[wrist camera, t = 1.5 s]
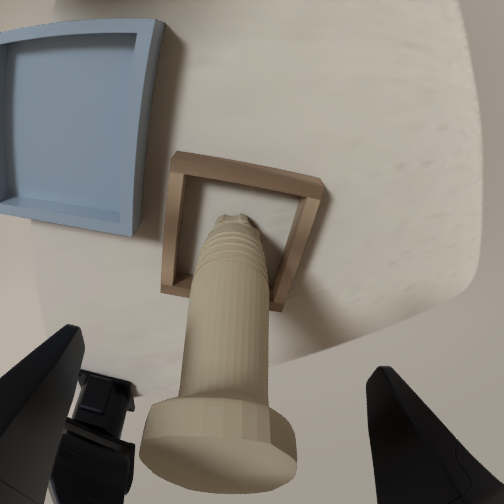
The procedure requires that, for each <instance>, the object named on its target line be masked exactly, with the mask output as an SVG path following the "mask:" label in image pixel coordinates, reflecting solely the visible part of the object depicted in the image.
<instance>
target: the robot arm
mask: <svg viewBox="0 0 504 504" xmlns="http://www.w3.org/2000/svg"><path fill="white" fill-rule="evenodd" d="M84 351H85V344H84V340H83V336H82V332H81V329H80V327H78V326H74V325H70V324H67V325H65V326H64V327H62V328H61V329H60V330H59V331H57V332H56V333H55V334H54V335H52V336H51V337H50V338H49V339H47V340H46V341H45V342H43V343H42V344H41V345H40V346H39V347H37V348H36V349H35V350H34V351H32V352H31V353H30V354H29V355H28V356H26V357H25V358H24V359H23V360H21V361H20V362H19V363H18V364H17V365H15V366H14V367H13V368H12V369H10V370H9V371H8V372H7V373H6V374H4V375H3V376H2V377H1V378H0V504H44V501H45V496H46V492H47V488H48V489H49V492H50V495H51V498H52V500H53V503H54V504H123V503H124V495H126V494H127V493H128V492H129V490H130V487H131V484H132V480H133V473H134V472H133V471H134V456H135V444H133V443H128V442H125V441H122V440H120V438H121V433H122V429H123V424H124V420H125V416H126V412H127V411H132V412H134V409H135V405H134V399H133V393H132V387H131V384H130V383H129V382H126V381H122V380H118V379H114V378H109V377H105V376H102V375H98V374H94V373H90V372H87V371H83V370H80V368H81V364H82V360H83V356H84ZM77 381H79V384H80V386H81V391H80V394H79V397H78V400H77V403H76V406H75V409H74V412H73V415H72V418H69V417H67V416H68V413H69V410H70V407H71V404H72V401H73V397H74V394H75V390H76V385H77ZM366 395H367V396H366V397H367V416H368V431H369V438H370V445H371V452H372V460H373V467H374V475H375V485H376V494H377V504H504V484H503V483H501V482H500V481H499V480H498V479H497V478H496V477H494V476H493V475H492V474H491V473H490V472H489V471H488V470H487V469H486V468H485V467H484V466H483V465H482V464H480V463H479V462H478V461H477V460H476V459H475V458H474V457H473V456H472V455H471V454H470V453H469V452H468V450H466V448H465V447H464V446H463V445H462V444H461V443H460V442H459V441H458V439H456V438H455V436H454V435H453V434H452V433H451V432H450V431H449V430H448V428H447V427H446V426H445V425H444V424H443V423H442V422H441V421H440V420H439V418H438V417H437V416H436V415H435V414H434V413H433V412H432V411H431V410H430V409H429V407H427V405H426V404H425V403H424V402H423V401H422V400H421V399H420V398H419V397H418V395H417V394H416V393H415V392H414V391H413V390H412V389H411V388H410V387H409V386H408V385H407V384H406V382H405V381H404V380H403V379H402V378H401V377H400V376H399V375H398V374H397V373H396V372H395V371H394V370H393V368H392V367H390V366H379V367H377V369H376V370H375V371H374V372H373V374H372V375H371V377H370V378H369V379H368V381H367V383H366ZM62 433H63V434H62Z"/></svg>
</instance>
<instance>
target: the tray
mask: <svg viewBox="0 0 504 504" xmlns="http://www.w3.org/2000/svg"><path fill="white" fill-rule="evenodd" d="M164 27H165V23H164V22H162V21H159V20H157V19H144V18H115V19H91V20H78V21H67V22H58V23H50V24H43V25H37V26H30V27H25V28H20V29H14V30H9V31H5V32H0V214H6V215H12V216H17V217H22V218H28V219H33V220H39V221H45V222H50V223H56V224H61V225H67V226H73V227H78V228H84V229H90V230H95V231H101V232H107V233H112V234H118V235H124V236H130V237H132V236H133V234H134V233H135V231H136V229H137V228H138V226H139V224H140V222H141V212H142V194H143V179H144V166H145V154H146V144H147V134H148V126H149V117H150V109H151V102H152V95H153V88H154V81H155V75H156V69H157V63H158V57H159V52H160V47H161V41H162V36H163V31H164Z"/></svg>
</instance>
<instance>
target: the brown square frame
mask: <svg viewBox="0 0 504 504" xmlns="http://www.w3.org/2000/svg"><path fill="white" fill-rule="evenodd" d="M187 175H193V176H199V177H205V178H211V179H216V180H222V181H228V182H233V183H239V184H244V185H250V186H255V187H260V188H265V189H270V190H275V191H280V192H285V193H290V194H294V195H299V196H301V198H300V201H299V204H298V208H297V211H296V214H295V218H294V221H293V224H292V227H291V231H290V234H289V237H288V240H287V244H286V247H285V250H284V253H283V256H282V259H281V263H280V266H279V269H278V272H277V275H276V278H275V282H274V285H273V288H269V310H270V311H277V312H282V310H283V307H284V304H285V301H286V299H287V296H288V293H289V291H290V288H291V285H292V282H293V280H294V277H295V274H296V271H297V268H298V265H299V263H300V260H301V257H302V254H303V251H304V248H305V245H306V243H307V240H308V237H309V234H310V231H311V228H312V225H313V222H314V219H315V216H316V213H317V210H318V207H319V204H320V201H321V198H322V195H323V192H324V189H325V187H324V185H323V183H322V182H321V180H320V178H316V177H312V176H308V175H303V174H299V173H294V172H290V171H285V170H281V169H276V168H271V167H266V166H261V165H256V164H251V163H246V162H241V161H235V160H230V159H224V158H218V157H212V156H206V155H200V154H194V153H188V152H181V151H176V153H175V154H174V155H173V157H172V158H171V165H170V174H169V183H168V193H167V203H166V214H165V226H164V239H163V254H162V272H161V293H165V294H170V295H176V296H181V297H187V298H190V292H191V285H192V280H193V276H192V275H186V274H180V273H176V270H177V258H178V248H179V238H180V229H181V220H182V211H183V203H184V195H185V187H186V179H187Z"/></svg>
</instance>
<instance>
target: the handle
mask: <svg viewBox="0 0 504 504" xmlns="http://www.w3.org/2000/svg"><path fill="white" fill-rule="evenodd" d="M268 334H269V284H268V274H267V267H266V261H265V255H264V251H263V247H262V241H261V236H260V233H259V231H258V229H256V228H254V227H253V226H252V225H251V224H250V222H249V221H248V217H247V216H246V215H244V214H239V215H237V216H226V215H222V216H220V217H218V219H217V221H216V223H215V228H214V230H213V231H211V232H210V233H209V235H208V237H207V239H206V241H205V242H204V244H203V247H202V249H201V252H200V255H199V258H198V261H197V264H196V268H195V272H194V276H193V280H192V285H191V292H190V300H189V309H188V317H187V327H186V336H185V344H184V353H183V363H182V372H181V382H180V389H179V395H178V397H175V398H171V399H167V400H164V401H161V402H159V403H156V404H153V405H152V407H151V409H150V411H149V414H148V417H147V420H146V423H145V427H144V431H143V436H142V441H141V446H140V451H139V457H140V459H141V461H142V462H143V463H144V464H145V465H146V466H147V467H148V468H149V469H150V470H151V471H152V472H153V473H155V474H156V475H158V476H159V477H161V478H163V479H165V480H167V481H169V482H171V483H174V484H176V485H179V486H181V487H184V488H187V489H190V490H195V491H201V492H208V493H218V494H250V493H260V492H267V491H272V490H274V489H276V488H278V487H280V486H282V485H284V484H286V483H288V482H289V481H291V480H292V479H293V478H294V476H295V474H296V470H297V451H296V439H295V433H294V431H293V429H292V427H291V425H290V423H289V422H288V421H287V420H286V418H284V417H283V416H282V415H281V414H279V413H278V412H276V411H275V410H273V409H271V408H270V407H269V404H268Z"/></svg>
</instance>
